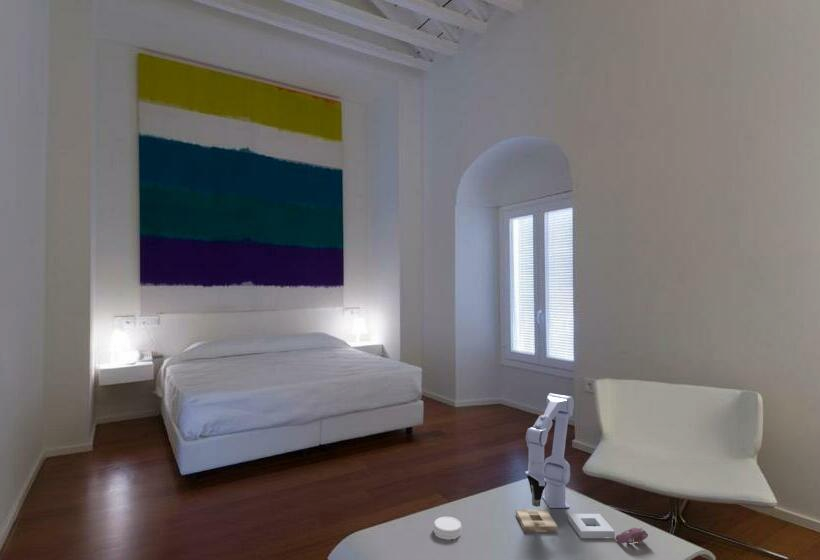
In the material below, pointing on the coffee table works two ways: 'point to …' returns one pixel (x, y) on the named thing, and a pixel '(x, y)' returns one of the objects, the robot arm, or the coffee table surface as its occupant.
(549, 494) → the robot arm
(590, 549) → the coffee table surface
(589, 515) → the dock
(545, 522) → the pin mount
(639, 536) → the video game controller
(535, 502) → the lock pin
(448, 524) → the white round disc
